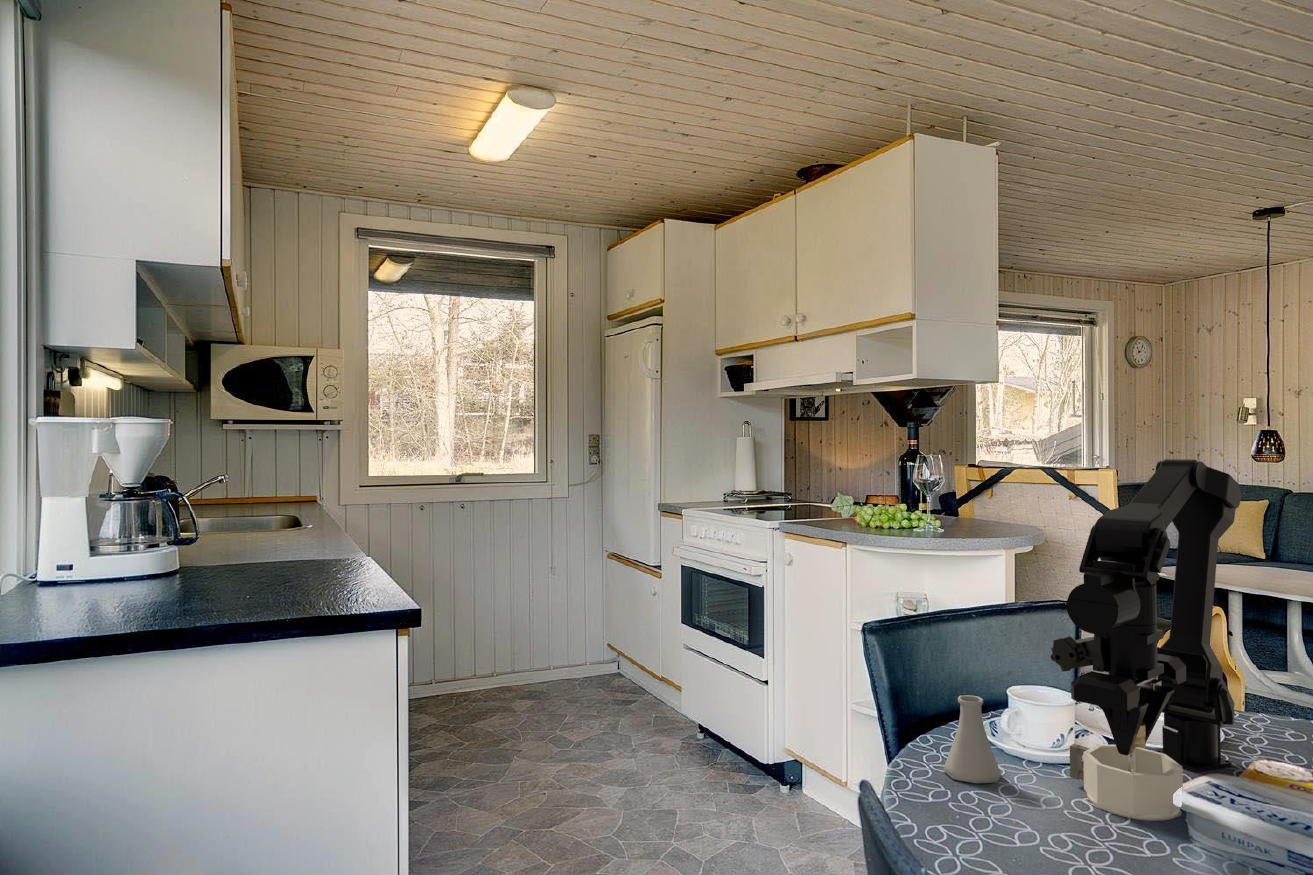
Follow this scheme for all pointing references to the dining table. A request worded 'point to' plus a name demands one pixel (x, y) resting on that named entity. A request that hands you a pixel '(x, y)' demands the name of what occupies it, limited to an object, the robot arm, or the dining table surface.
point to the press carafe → (1128, 781)
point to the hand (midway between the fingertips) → (1131, 749)
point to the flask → (971, 746)
